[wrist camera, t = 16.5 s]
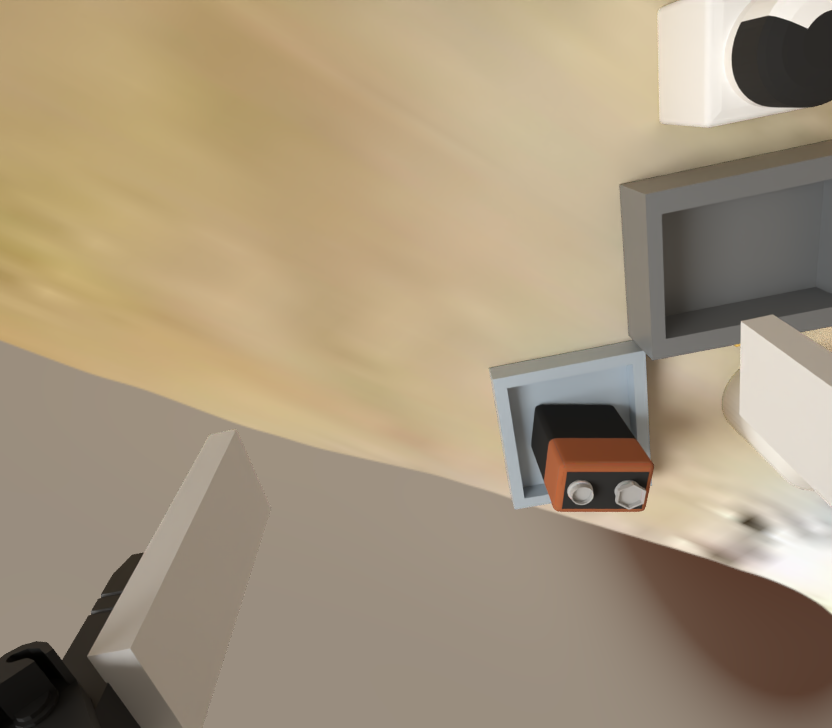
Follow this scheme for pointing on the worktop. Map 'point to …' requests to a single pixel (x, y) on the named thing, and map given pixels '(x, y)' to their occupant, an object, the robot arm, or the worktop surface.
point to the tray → (565, 403)
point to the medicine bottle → (742, 59)
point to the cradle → (728, 249)
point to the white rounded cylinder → (756, 434)
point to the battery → (590, 459)
